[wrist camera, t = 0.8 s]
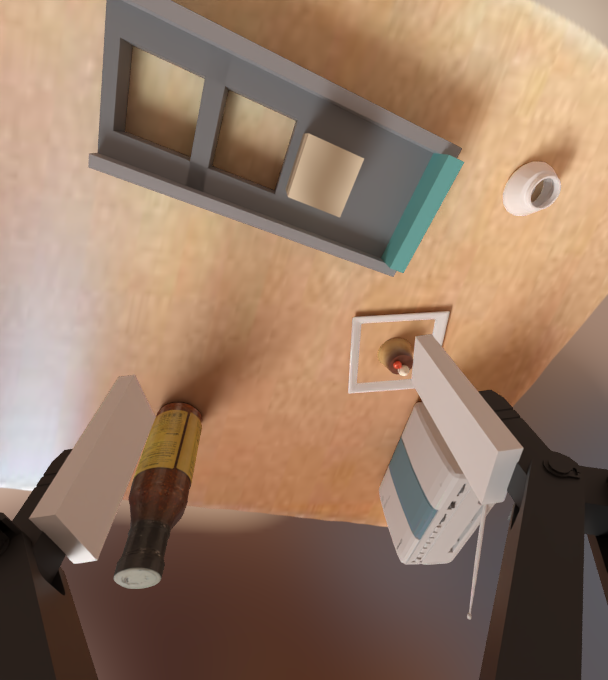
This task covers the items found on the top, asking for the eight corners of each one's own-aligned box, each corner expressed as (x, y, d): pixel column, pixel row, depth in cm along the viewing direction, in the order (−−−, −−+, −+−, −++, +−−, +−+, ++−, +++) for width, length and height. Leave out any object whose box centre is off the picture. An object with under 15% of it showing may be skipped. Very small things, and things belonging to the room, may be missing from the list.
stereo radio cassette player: (410, 395, 48) (487, 538, 31) (462, 398, 49) (563, 537, 32) (373, 485, 58) (415, 628, 41) (416, 485, 60) (474, 624, 43)
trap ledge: (109, 163, 29) (79, 169, 25) (122, -13, 24) (86, -48, 19) (381, 263, 37) (398, 282, 32) (441, 146, 31) (471, 149, 26)
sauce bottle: (149, 420, 46) (78, 585, 29) (171, 392, 44) (109, 554, 27) (191, 438, 48) (149, 600, 32) (214, 413, 46) (182, 573, 29)
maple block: (285, 189, 29) (287, 196, 26) (303, 133, 27) (308, 133, 24) (331, 207, 31) (340, 217, 27) (351, 155, 29) (364, 158, 25)
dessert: (350, 312, 40) (359, 332, 36) (446, 306, 41) (465, 325, 37) (346, 388, 47) (353, 412, 43) (429, 382, 47) (444, 405, 43)
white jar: (511, 224, 36) (556, 190, 34) (529, 231, 33) (578, 194, 32) (492, 187, 34) (539, 149, 32) (510, 191, 31) (562, 150, 30)
